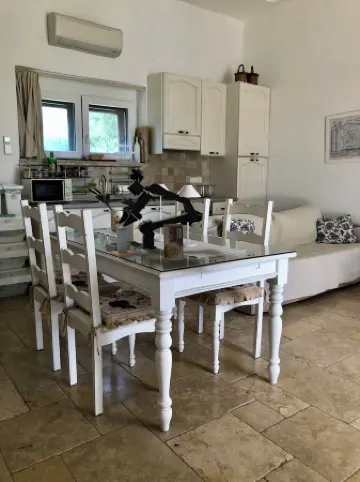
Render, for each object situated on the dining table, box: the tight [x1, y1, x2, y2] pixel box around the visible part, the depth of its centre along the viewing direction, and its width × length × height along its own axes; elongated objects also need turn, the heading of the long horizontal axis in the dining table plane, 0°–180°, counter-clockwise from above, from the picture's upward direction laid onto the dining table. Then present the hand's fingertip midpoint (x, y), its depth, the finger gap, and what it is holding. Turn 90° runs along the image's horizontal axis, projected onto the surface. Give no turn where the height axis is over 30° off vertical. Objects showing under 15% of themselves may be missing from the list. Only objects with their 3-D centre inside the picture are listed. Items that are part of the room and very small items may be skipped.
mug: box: [116, 222, 135, 243], centre depth 233 cm, size 10×7×12 cm, turn 122°
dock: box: [105, 241, 136, 258], centre depth 207 cm, size 19×12×3 cm, turn 39°
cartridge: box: [115, 226, 128, 253], centre depth 201 cm, size 5×5×12 cm
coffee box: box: [162, 223, 185, 261], centre depth 189 cm, size 9×6×16 cm
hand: (121, 225), depth 209 cm, fingers open, 9 cm apart
